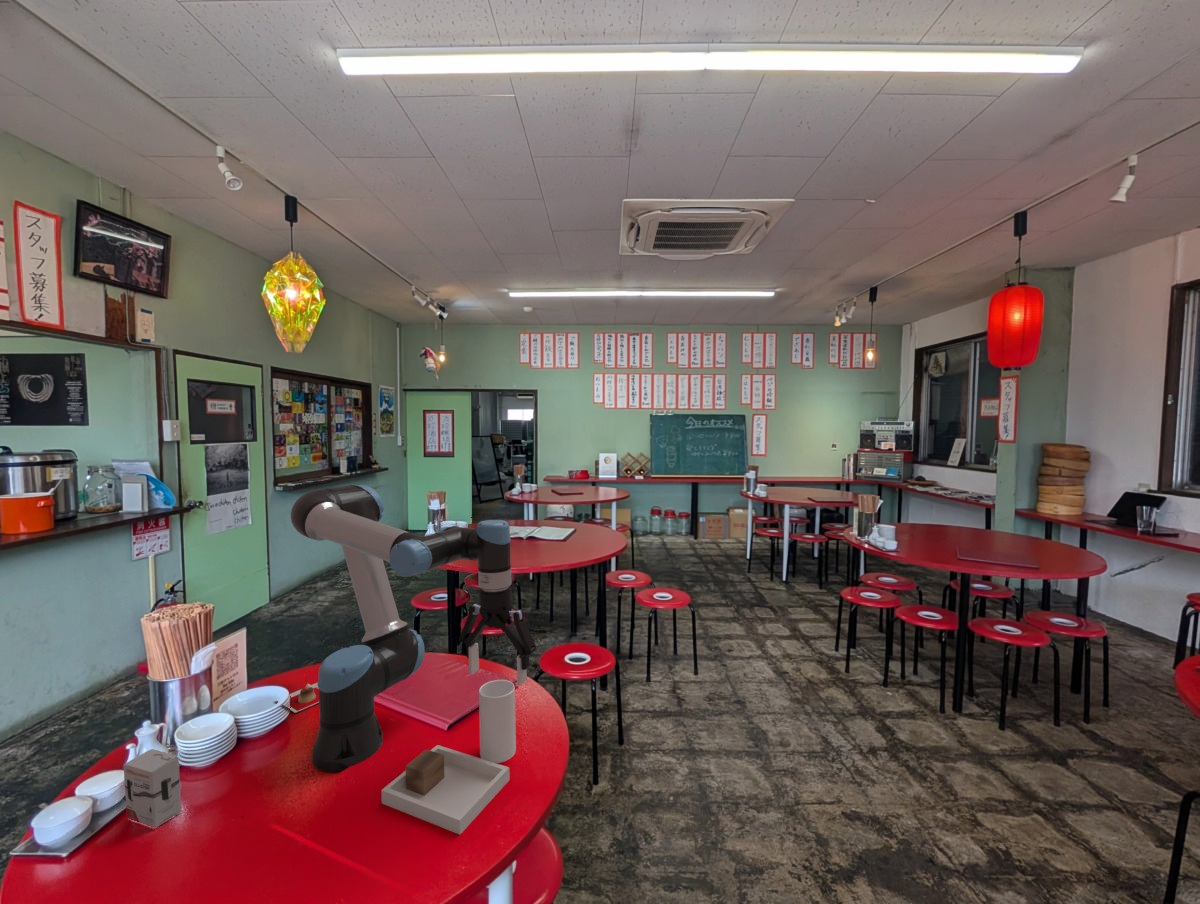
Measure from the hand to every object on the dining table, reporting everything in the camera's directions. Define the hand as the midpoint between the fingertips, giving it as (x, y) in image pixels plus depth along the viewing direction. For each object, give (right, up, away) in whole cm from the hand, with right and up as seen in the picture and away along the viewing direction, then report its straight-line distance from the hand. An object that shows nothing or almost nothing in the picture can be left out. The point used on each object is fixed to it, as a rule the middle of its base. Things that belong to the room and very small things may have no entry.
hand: (497, 677), depth 116 cm
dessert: (-61, -19, +27) cm, 69 cm away
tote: (-8, -19, -12) cm, 24 cm away
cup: (0, -19, +1) cm, 19 cm away
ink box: (-65, -20, -17) cm, 70 cm away
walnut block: (-13, -18, -10) cm, 25 cm away
